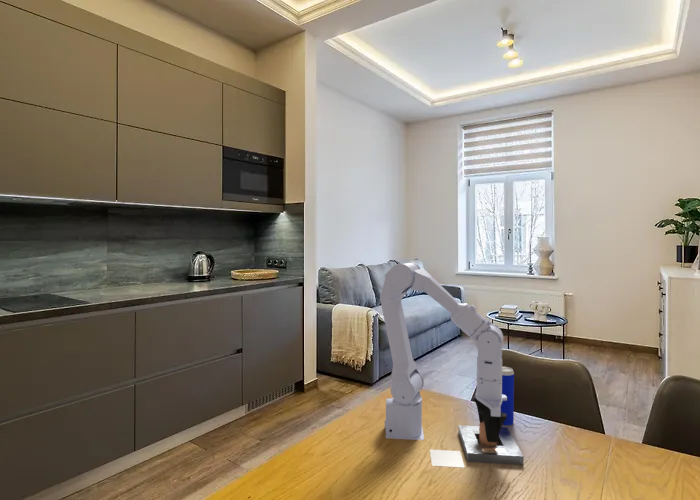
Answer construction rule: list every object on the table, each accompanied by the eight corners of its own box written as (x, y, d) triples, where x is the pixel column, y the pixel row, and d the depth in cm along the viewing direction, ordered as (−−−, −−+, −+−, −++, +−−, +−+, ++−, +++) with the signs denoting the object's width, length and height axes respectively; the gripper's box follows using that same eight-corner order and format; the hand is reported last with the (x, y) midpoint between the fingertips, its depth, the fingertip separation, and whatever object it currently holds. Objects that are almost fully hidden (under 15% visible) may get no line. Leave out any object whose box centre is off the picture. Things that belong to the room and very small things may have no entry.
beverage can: (510, 419, 117) (511, 366, 116) (515, 428, 111) (516, 372, 111) (491, 418, 117) (491, 365, 117) (495, 427, 112) (496, 371, 111)
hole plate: (467, 464, 94) (467, 452, 94) (458, 434, 108) (458, 424, 108) (523, 467, 93) (523, 455, 92) (507, 437, 106) (507, 427, 106)
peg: (481, 454, 98) (482, 429, 98) (477, 445, 102) (477, 421, 102) (499, 454, 98) (499, 429, 98) (493, 445, 102) (494, 421, 102)
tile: (432, 468, 92) (432, 465, 92) (429, 451, 99) (429, 449, 99) (464, 470, 92) (464, 467, 92) (460, 453, 99) (460, 451, 98)
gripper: (515, 389, 92) (514, 450, 92) (499, 368, 106) (498, 421, 107) (482, 387, 93) (481, 448, 93) (470, 367, 107) (470, 419, 108)
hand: (488, 433), depth 100 cm, fingers open, 7 cm apart
